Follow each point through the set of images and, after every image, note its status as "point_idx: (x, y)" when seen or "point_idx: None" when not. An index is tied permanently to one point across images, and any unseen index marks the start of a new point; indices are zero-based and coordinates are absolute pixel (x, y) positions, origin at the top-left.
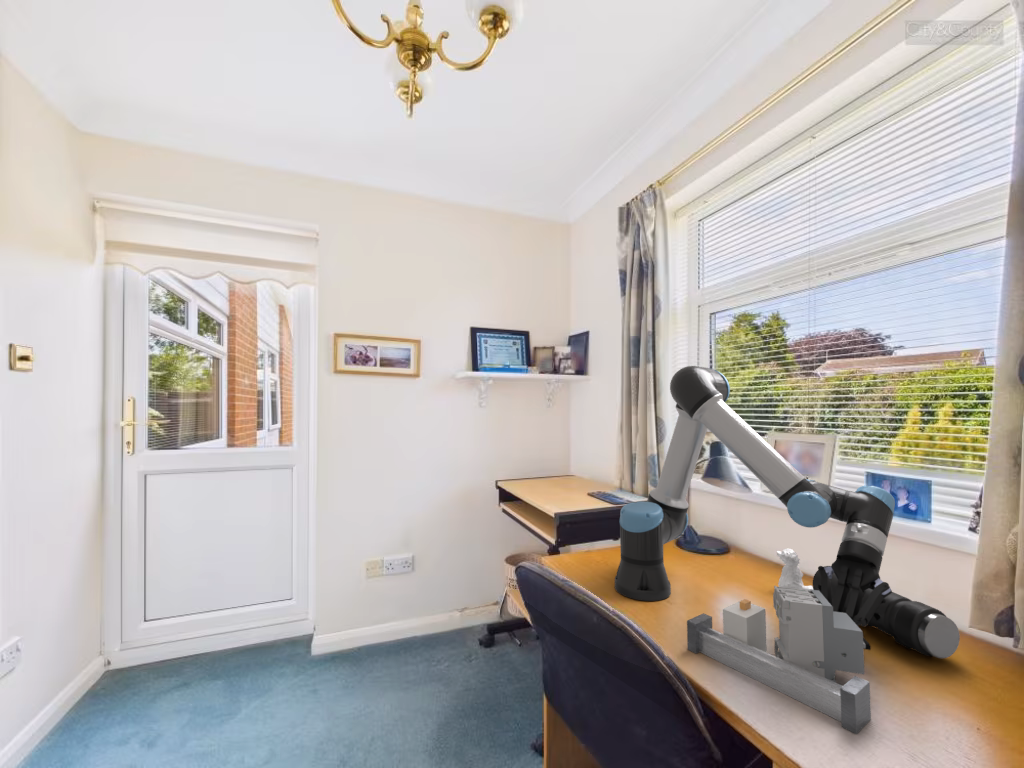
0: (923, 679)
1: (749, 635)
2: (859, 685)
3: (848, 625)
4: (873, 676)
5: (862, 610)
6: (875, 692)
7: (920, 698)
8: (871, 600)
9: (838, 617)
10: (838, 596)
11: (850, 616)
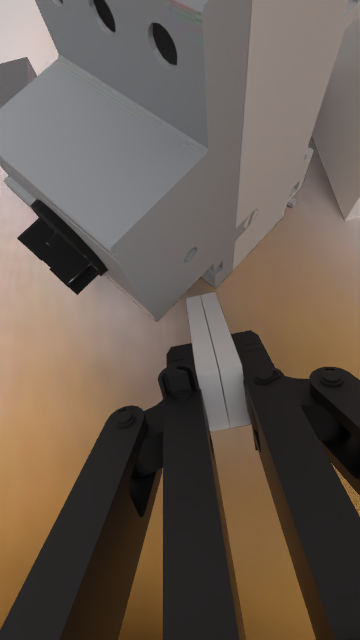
0: (38, 525)
1: (341, 68)
2: (4, 101)
3: (32, 125)
4: (124, 388)
5: (113, 461)
6: (85, 309)
7: (13, 391)
8: (45, 589)
9: (101, 156)
10: (305, 482)
11: (160, 378)
